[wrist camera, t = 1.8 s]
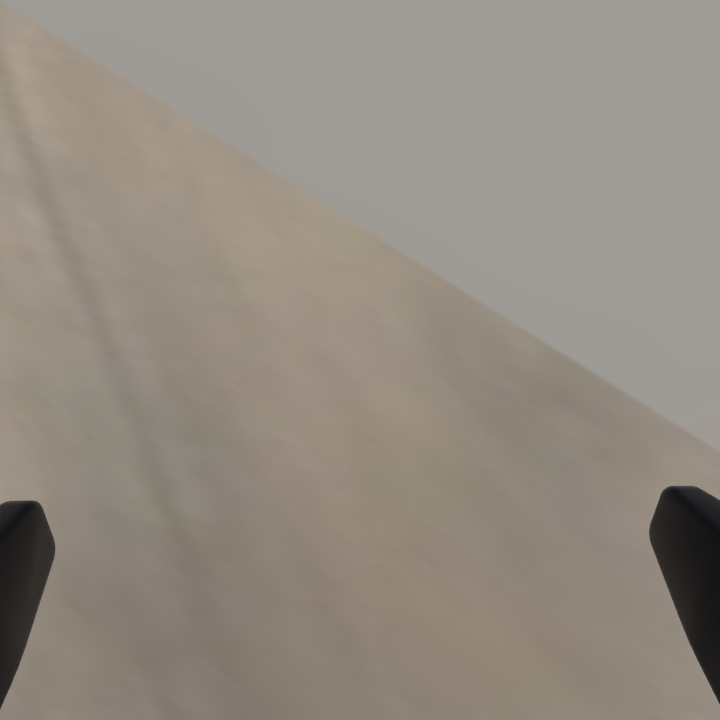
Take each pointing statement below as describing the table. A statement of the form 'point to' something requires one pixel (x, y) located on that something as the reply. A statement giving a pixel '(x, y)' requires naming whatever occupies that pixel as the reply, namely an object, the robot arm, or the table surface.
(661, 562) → the robot arm
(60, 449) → the table surface
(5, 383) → the table surface
